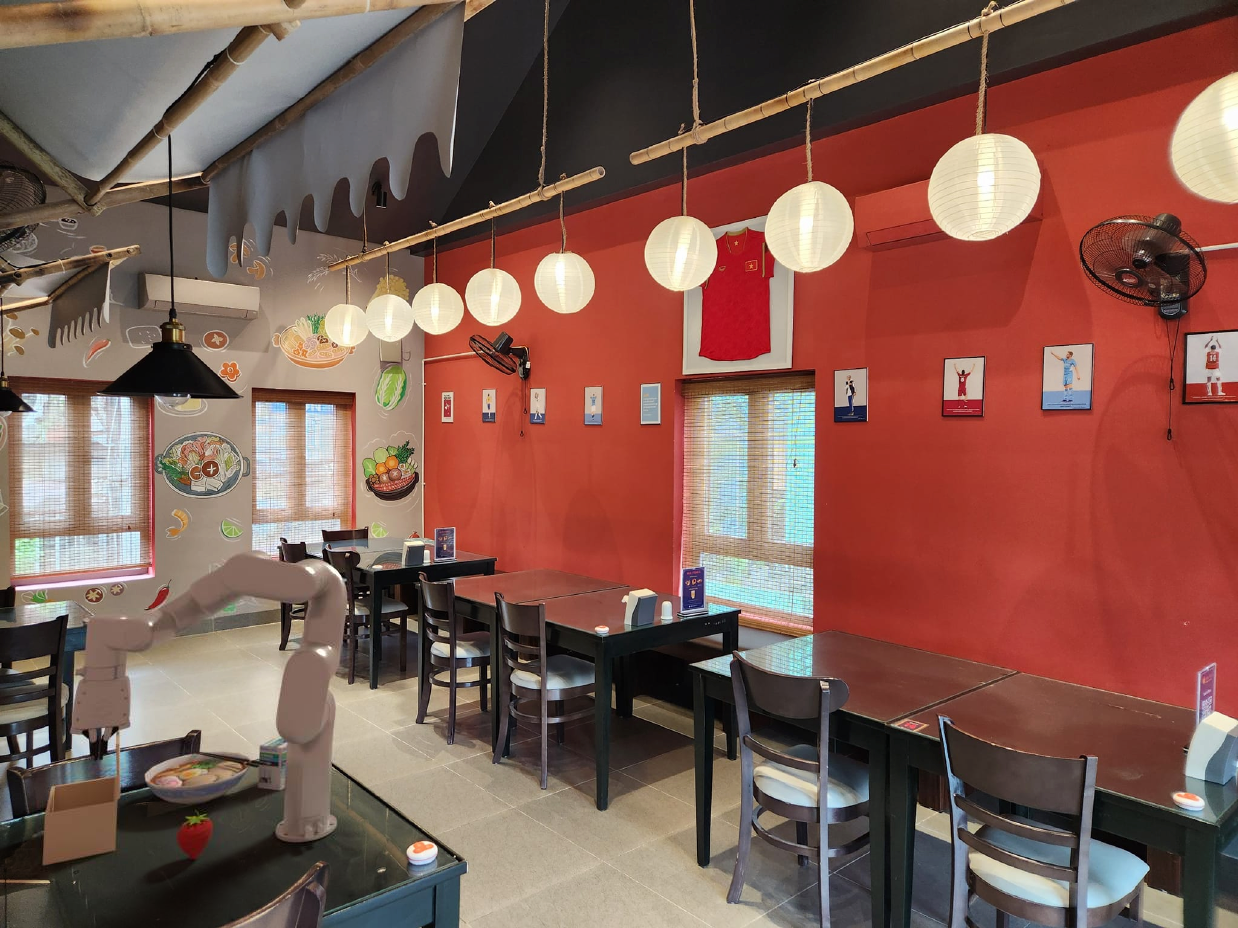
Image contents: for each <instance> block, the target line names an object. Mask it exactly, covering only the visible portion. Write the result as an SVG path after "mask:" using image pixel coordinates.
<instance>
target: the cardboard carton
mask: <svg viewBox="0 0 1238 928" xmlns="http://www.w3.org/2000/svg"><path fill="white" fill-rule="evenodd" d="M46 805H47V806H46V809H45V813H44V831H43V850H42V851H43V852H42V853H43V854H42V866H47V865H52V864H56V863H61V862H66V861H71V860H77V859H81V858H86V857H91V856H96V855H100V854H105V853H110V852H114V851H116V843H117V819H118V816H117V815H118V799H117V775H115V776H107V777H101V778H95V779H89V780H83V781H77V782H71V783H66V784H65V783H63V784H59V785H54V786H53V785H52V786H51V788H50V792H49V796H48V800H47V804H46Z"/></svg>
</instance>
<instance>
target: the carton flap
mask: <svg viewBox="0 0 1238 928" xmlns="http://www.w3.org/2000/svg"><path fill="white" fill-rule="evenodd" d="M120 736H121V734H120V730H119V731H117V732H116V733H115V758H116V759H115V761H116V762H115V763H116V764H115V765H116V769H115V770H116V776H117V800H119V799H121V776H122V775H121V774H122V773H121V743H120V742H121V741H120V739H121V738H120Z"/></svg>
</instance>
